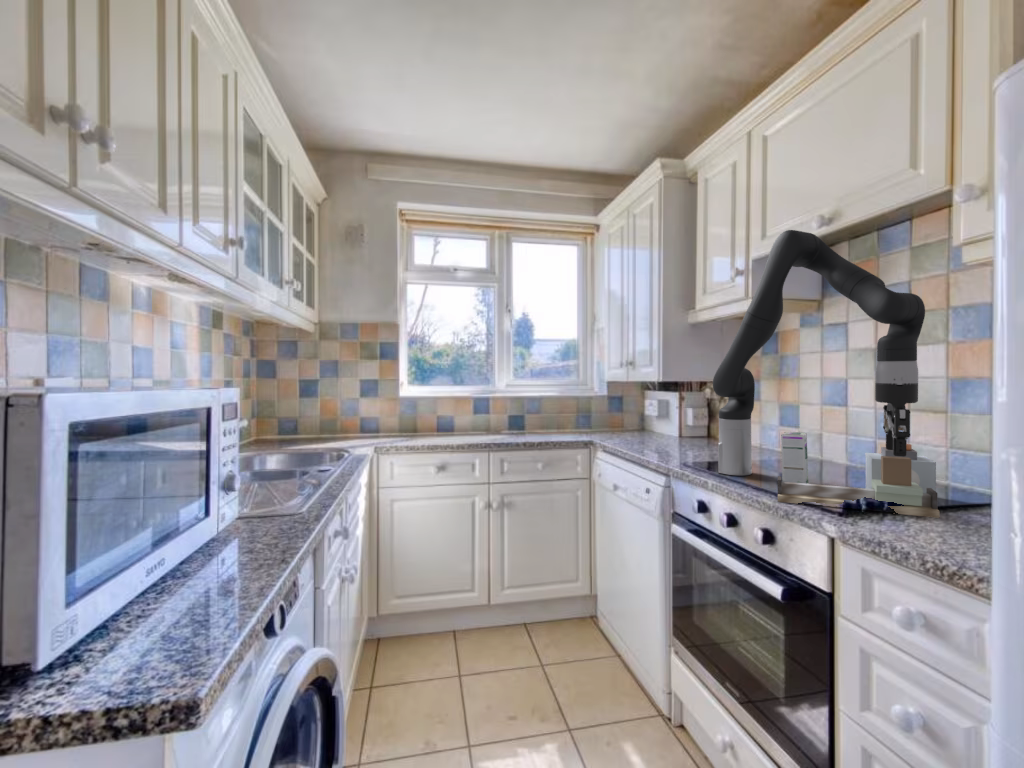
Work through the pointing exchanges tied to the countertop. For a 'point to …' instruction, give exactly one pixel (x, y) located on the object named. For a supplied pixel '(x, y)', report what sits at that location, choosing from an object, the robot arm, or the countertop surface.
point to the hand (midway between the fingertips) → (895, 452)
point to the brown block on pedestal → (897, 482)
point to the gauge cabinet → (920, 468)
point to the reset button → (908, 447)
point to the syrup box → (794, 457)
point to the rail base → (839, 501)
